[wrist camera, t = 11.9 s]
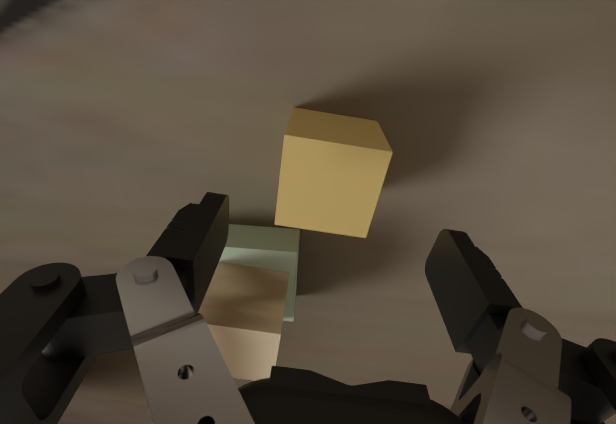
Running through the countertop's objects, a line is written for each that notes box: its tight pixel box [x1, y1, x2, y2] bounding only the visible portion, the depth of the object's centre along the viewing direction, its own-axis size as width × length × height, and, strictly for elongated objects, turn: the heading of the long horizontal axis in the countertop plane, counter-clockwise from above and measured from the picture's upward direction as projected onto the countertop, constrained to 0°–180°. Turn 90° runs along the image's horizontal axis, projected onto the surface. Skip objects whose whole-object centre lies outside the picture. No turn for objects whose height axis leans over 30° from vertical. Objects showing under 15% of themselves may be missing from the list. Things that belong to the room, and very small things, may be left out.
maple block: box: [198, 262, 289, 381], centre depth 21 cm, size 5×5×5 cm
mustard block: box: [274, 107, 393, 238], centre depth 18 cm, size 5×5×5 cm
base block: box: [219, 224, 300, 321], centre depth 24 cm, size 7×7×3 cm
